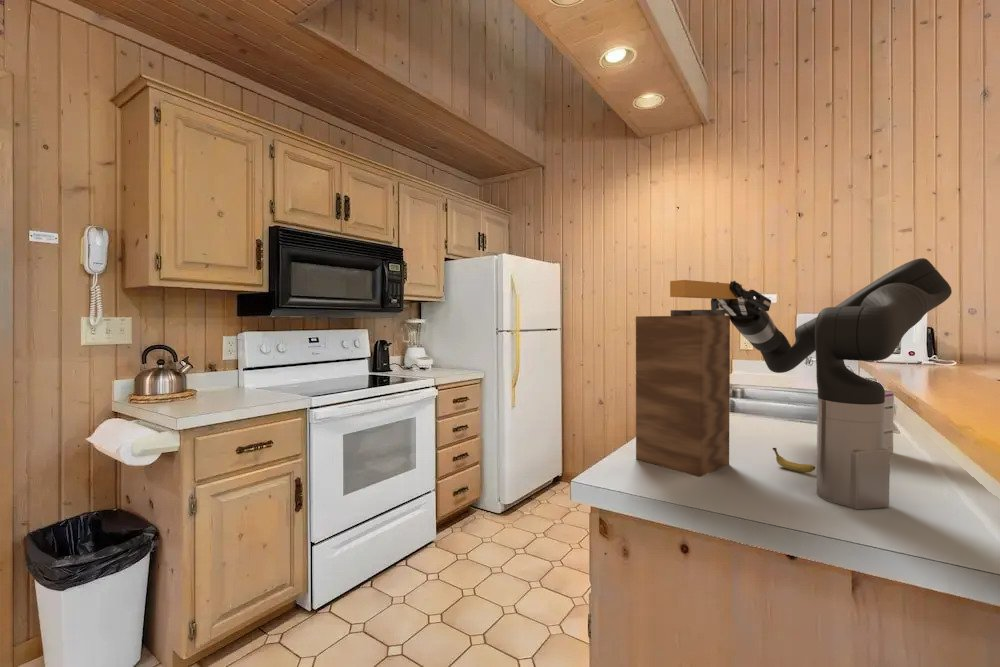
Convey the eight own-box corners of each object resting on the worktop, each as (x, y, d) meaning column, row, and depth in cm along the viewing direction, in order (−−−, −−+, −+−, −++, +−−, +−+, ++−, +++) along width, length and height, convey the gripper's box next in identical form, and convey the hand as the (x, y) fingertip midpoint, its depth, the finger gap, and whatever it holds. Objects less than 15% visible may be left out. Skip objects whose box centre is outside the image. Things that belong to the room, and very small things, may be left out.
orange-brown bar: (727, 299, 109) (728, 285, 109) (741, 298, 106) (742, 284, 106) (670, 296, 94) (670, 281, 94) (684, 296, 92) (684, 279, 92)
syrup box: (894, 453, 107) (895, 390, 106) (878, 456, 105) (879, 392, 104) (867, 446, 112) (867, 386, 112) (851, 449, 110) (851, 388, 110)
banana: (770, 466, 99) (770, 447, 99) (774, 465, 100) (775, 446, 99) (813, 477, 92) (813, 457, 92) (817, 475, 93) (817, 455, 93)
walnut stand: (666, 449, 112) (666, 311, 110) (729, 464, 100) (729, 309, 99) (636, 459, 104) (635, 311, 103) (699, 476, 92) (700, 309, 91)
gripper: (781, 336, 107) (751, 297, 98) (720, 335, 118) (689, 300, 109) (788, 308, 109) (759, 267, 100) (728, 309, 120) (697, 273, 111)
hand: (723, 284), depth 104 cm, fingers closed on orange-brown bar, 3 cm apart
